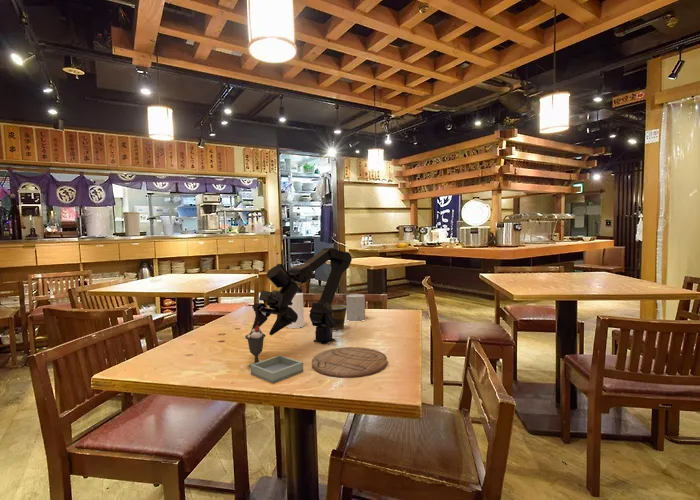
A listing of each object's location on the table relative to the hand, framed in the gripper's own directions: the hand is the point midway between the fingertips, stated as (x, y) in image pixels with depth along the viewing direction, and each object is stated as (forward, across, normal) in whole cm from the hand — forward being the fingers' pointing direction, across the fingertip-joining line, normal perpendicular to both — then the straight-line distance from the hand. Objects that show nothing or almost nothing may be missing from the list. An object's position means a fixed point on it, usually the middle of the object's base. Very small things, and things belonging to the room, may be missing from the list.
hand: (261, 332), depth 122 cm
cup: (-22, -28, +37) cm, 51 cm away
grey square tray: (+10, +11, +5) cm, 16 cm away
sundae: (+9, 0, +6) cm, 11 cm away
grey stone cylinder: (-40, -12, +55) cm, 69 cm away
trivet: (-4, +24, +20) cm, 32 cm away
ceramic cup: (-26, -9, +41) cm, 49 cm away
